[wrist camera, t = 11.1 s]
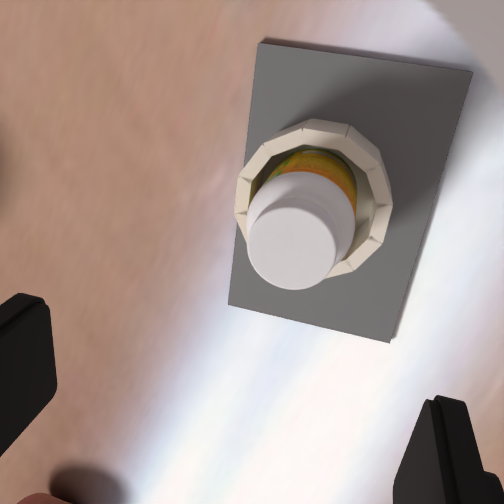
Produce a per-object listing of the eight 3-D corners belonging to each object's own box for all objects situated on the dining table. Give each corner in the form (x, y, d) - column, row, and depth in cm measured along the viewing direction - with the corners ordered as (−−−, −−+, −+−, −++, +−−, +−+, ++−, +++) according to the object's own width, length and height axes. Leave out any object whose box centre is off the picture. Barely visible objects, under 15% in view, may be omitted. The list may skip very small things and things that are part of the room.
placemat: (259, 42, 27) (257, 42, 26) (471, 71, 25) (473, 71, 24) (229, 302, 34) (227, 304, 34) (389, 340, 32) (389, 343, 32)
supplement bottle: (288, 132, 27) (252, 170, 19) (372, 165, 27) (375, 219, 18) (260, 211, 30) (216, 277, 21) (336, 241, 29) (324, 322, 21)
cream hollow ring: (261, 110, 28) (244, 118, 24) (403, 133, 26) (408, 145, 23) (245, 237, 31) (228, 261, 28) (369, 263, 30) (369, 292, 26)
